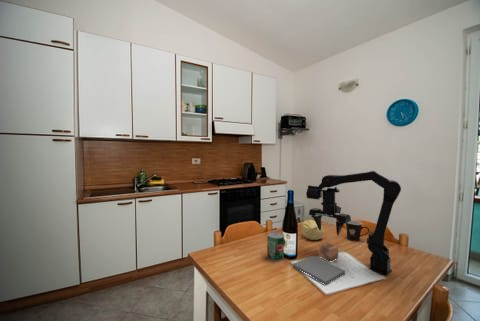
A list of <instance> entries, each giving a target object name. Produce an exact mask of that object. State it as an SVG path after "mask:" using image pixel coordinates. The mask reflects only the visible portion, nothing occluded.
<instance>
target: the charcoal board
mask: <svg viewBox="0 0 480 321" xmlns="http://www.w3.org/2000/svg"><path fill="white" fill-rule="evenodd" d="M292 268H294V269H295V270H297V271H299V270H301V271H303V272H305V273H307V274H309V275H311V276H312V277H314V278H315V279H317V280H318V281H320V282H322V283H324V284H325V285H326V284H327V285H329V284H330V283H329V282H331V281H332V282H334V281H335V279H336V278H338V277H339V278H341V277H343V276H345V275H346V270H344V269H342V267H341V268H340V267H338V266H337V265H333V264H332V263H331V262H328V261H326V260H324V259H322V258H320V257H317V256H314V255H310V256H307V257H306V258H303V259H301V260H299V261H297V262H294V263H293V264H292ZM301 271H300V272H301ZM342 275H343V276H342ZM340 276H341V277H340ZM339 278H338V279H339ZM315 279H314V280H315ZM317 280H316V281H317ZM333 280H334V281H333ZM336 280H337V279H336ZM318 281H317V282H318ZM320 282H319V283H320ZM332 282H331V283H332ZM322 283H321V284H322ZM328 283H329V284H328ZM324 284H323V285H324ZM325 285H324V286H325ZM327 285H326V286H327Z"/></svg>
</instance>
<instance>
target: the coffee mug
mask: <svg viewBox="0 0 480 321" xmlns="http://www.w3.org/2000/svg"><path fill="white" fill-rule="evenodd" d="M345 226H346V228H345V230H346V237H347V238H346V239H348V240H349V241H351V242H359V241H361V240H360V239H361V237H363V236H365V235H368V234H369V231H370V229H369V227H367V226H363V223H362V222H361V221H357V220H352V219H351V221H349V222H347V223H345ZM364 228H365V229H367V232H366V233H364V234H361V232H362V230H363V229H364Z"/></svg>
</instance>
